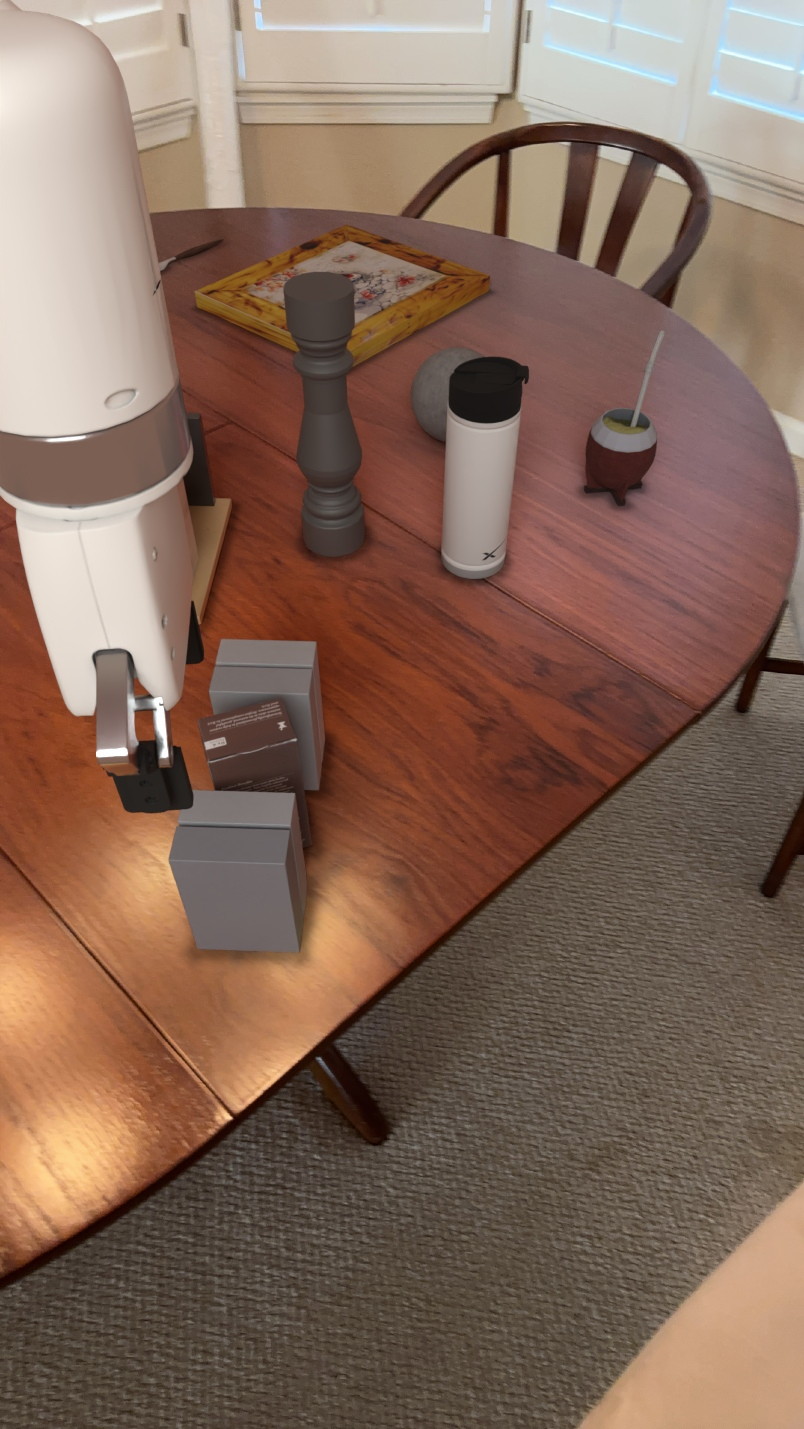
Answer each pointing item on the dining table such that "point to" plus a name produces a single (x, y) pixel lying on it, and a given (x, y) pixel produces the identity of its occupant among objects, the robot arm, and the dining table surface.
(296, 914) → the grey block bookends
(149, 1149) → the dining table surface
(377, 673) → the dining table surface
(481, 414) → the travel mug
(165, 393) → the robot arm
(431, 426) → the decorative ball
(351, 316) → the candle holder
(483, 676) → the dining table surface
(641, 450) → the mate gourd
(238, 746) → the box
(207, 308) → the picture frame
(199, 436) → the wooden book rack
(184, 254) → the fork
